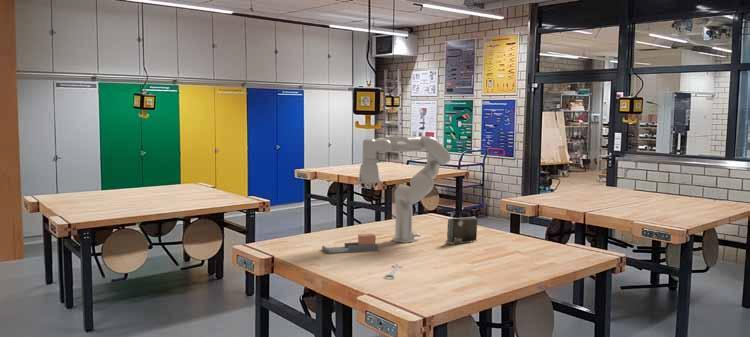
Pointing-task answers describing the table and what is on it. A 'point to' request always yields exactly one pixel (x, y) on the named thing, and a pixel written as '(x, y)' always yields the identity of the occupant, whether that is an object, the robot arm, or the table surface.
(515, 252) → the table surface
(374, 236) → the block
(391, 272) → the wrench
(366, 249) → the chute
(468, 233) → the radio
